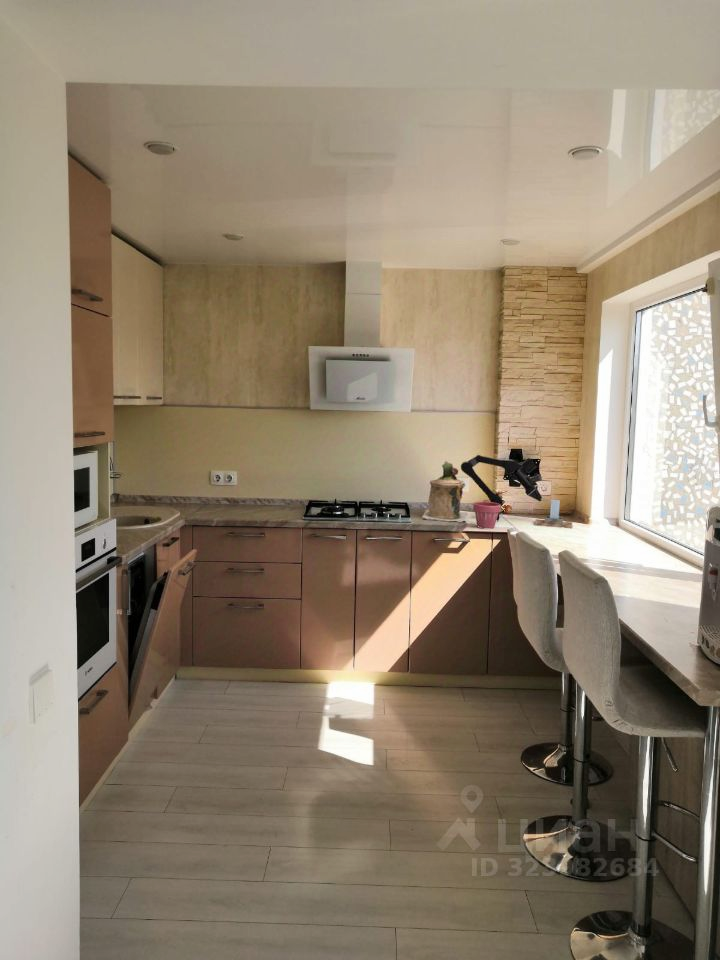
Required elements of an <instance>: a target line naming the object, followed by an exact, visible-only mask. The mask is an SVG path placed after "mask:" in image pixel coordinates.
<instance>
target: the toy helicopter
mask: <svg viewBox="0 0 720 960" xmlns="http://www.w3.org/2000/svg"><path fill="white" fill-rule="evenodd" d="M504 491H505V490H504ZM496 492H497V493H498V495H499V496H501V497H502V495H503V494H504V493H508V490H507V491H505V492H502V491H496ZM502 498H503V497H502ZM482 502H491V501H490V500H489V499H484V500H483V501H482ZM504 503H505V501H504V500H502V505H503V504H504ZM502 507H503V508H505V509H504V510H505V513H506V514H511V513H512V511H511V509H512V510H513V508H512V506H511V505H507V506H506V505H504V506H502ZM502 510H503V509H502V508H500V513H503V512H502Z"/></svg>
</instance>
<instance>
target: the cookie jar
mask: <svg viewBox="0 0 720 960" xmlns="http://www.w3.org/2000/svg"><path fill="white" fill-rule="evenodd" d="M441 466H442V469H443V472H442V475H441V476H439V477H438V478H437V479H431V480H429V484H430V489H429V490H430V491H429V495H428V503H427V504H428V509H426V510H425V511H424V513H423V514H422V516H421V517H422V520H429V521H431V520H435V521H438V522H439V521H440V522H449V521H453V520H456V521H465V522H466V521H467V519H468V512H460V510H461V508H462V505H461V500H462V498H463V493H464V492H463V489H464V483H463V482H462V480H460V479H459V478H457V476H456V475H458V474H459V468H457V467H454V465H453V463H450V462H448V461H444V463H443V464H442V465H441Z"/></svg>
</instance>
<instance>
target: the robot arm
mask: <svg viewBox="0 0 720 960" xmlns="http://www.w3.org/2000/svg"><path fill="white" fill-rule="evenodd" d="M525 459H526V460H524V461H523V462H522V463H520V462H516V460H514V459H498V458H493V457H489V456H484V455H481V454H477V455H475V456H474V457H472V458H471V459H469V460H468V461H463V462H462V463H461V464H460V469H461V471H462V472H463V473H464V474H465V475H467V476H468V477H469V478H471V479H472V481H474V483H475V484H476V485H477V486H478V487H479V489H481V491H482V492H483V493H484V494H485V496H487V498H488V501H491V502H493V503H498V504H500V505H501V506H502V497H501V496H499V495H498V493H497V492H498V491H496V492H494V491H493V490H492V489H490V487H489V486H488V485H487V484H486V483H485V481H484V480H483V479H482V478H481V477H480V476H479V475H478V474H477V473H476V471H475V469H474V467H475V466H477V465H478V464H480V463H482V464H486V465H492V466H497V467H500V468H503V469H505V470H507V471H510V473H509V475H510V476H509V477H510V478H512V477H514V478H515V479H516V481H518V483H519V485H521V486H522V488H524V490H525V491H524V493H525V495H526V496H528V497H530V498H532V499H534V500H537V501H539V502H542V499H543V496H542V495H541V493H540V491H539V489H538V487H539V485H538V483H537V482H541V481H542V480H543V478H542V476H541V474H538V473H537V472H536V473H534V474H533V476H531V477H530V476H529V475H527V474H526V473H529V474H530V473H531V472H532V471H534V469H536V468H537V467H538V466H537V464H535V463H534V462H533V460H532V459H531V458H530V457H527V458H525ZM500 513H501V512H499V513H498V517H497V520H499V521H500V516H501V515H500Z"/></svg>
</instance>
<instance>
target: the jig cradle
mask: <svg viewBox="0 0 720 960" xmlns="http://www.w3.org/2000/svg"><path fill="white" fill-rule="evenodd" d="M534 526H538V527H539V526H542V527H553V528H562V527H564V529H565V528H566V529H573V522H572V521H571V522H570V521H564V516H559V519H554V518H550V515H548V514H547V515H545V516H544V519H537V518H536V519H535V521H534Z"/></svg>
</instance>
